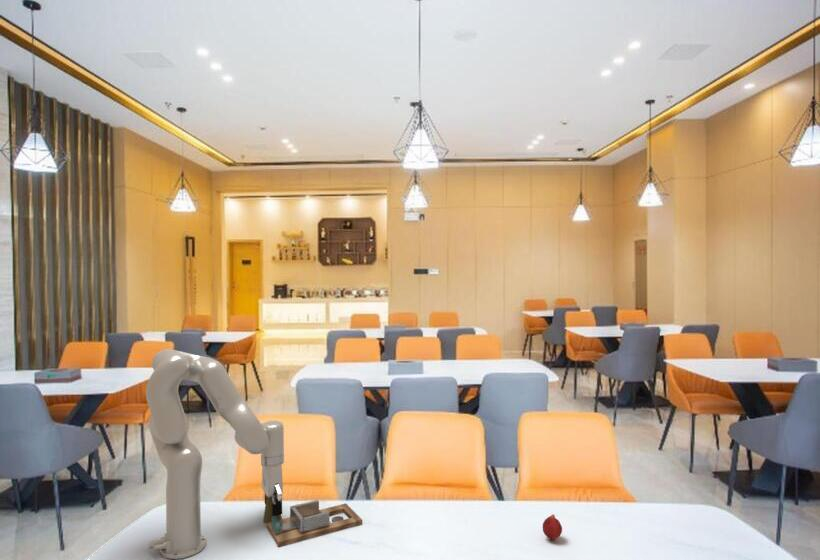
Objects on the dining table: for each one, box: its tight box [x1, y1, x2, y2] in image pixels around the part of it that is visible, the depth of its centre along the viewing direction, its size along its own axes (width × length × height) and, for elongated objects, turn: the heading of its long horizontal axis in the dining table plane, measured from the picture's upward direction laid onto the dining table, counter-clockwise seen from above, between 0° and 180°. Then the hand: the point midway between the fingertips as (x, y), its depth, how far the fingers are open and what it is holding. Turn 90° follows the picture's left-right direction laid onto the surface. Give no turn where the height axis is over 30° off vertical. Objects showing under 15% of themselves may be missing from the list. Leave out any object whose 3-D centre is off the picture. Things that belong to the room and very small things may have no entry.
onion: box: [542, 513, 563, 541], centre depth 158 cm, size 6×6×8 cm
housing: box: [272, 499, 330, 534], centre depth 164 cm, size 17×11×4 cm, turn 120°
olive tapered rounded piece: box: [262, 493, 283, 525], centre depth 171 cm, size 6×6×11 cm
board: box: [266, 503, 363, 548], centre depth 167 cm, size 28×14×2 cm, turn 120°
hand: (273, 509), depth 171 cm, fingers open, 9 cm apart
